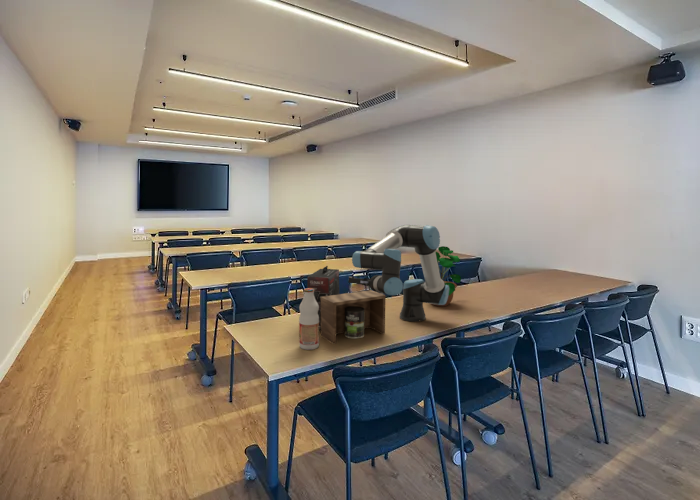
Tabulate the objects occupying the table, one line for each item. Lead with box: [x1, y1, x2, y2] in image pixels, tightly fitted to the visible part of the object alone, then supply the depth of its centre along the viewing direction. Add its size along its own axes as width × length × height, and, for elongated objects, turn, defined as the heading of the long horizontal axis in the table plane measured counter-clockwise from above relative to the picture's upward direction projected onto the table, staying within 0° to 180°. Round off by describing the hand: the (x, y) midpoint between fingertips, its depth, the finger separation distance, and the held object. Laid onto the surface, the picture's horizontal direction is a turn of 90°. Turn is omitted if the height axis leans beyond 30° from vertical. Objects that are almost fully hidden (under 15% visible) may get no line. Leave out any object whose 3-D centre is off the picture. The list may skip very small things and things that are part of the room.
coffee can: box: [344, 306, 365, 340], centre depth 199 cm, size 10×10×14 cm
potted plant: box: [432, 246, 462, 307], centre depth 259 cm, size 31×29×40 cm
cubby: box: [320, 289, 387, 345], centre depth 200 cm, size 31×14×20 cm, turn 121°
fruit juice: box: [298, 287, 320, 351], centre depth 182 cm, size 9×9×28 cm
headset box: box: [306, 265, 340, 332], centre depth 216 cm, size 24×13×33 cm, turn 168°
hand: (361, 280), depth 194 cm, fingers open, 13 cm apart
